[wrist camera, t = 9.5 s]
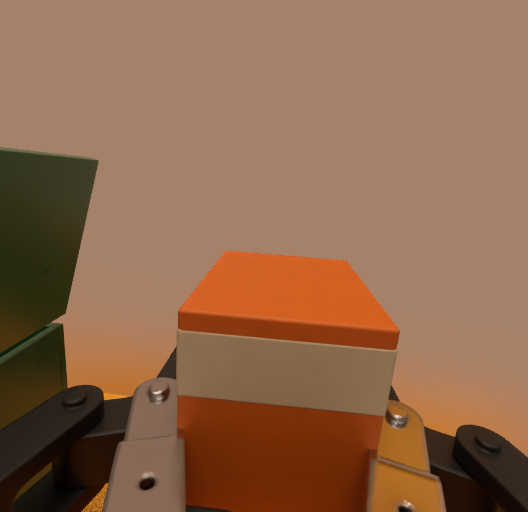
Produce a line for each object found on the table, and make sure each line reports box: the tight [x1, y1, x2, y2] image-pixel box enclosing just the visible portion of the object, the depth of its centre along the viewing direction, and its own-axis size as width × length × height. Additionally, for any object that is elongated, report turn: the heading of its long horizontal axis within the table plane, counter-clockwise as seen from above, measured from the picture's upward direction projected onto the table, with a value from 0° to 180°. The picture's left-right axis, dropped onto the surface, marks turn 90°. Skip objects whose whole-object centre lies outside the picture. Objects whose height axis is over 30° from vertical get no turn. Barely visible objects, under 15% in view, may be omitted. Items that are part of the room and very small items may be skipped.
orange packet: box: [176, 251, 400, 512], centre depth 10 cm, size 4×6×10 cm
